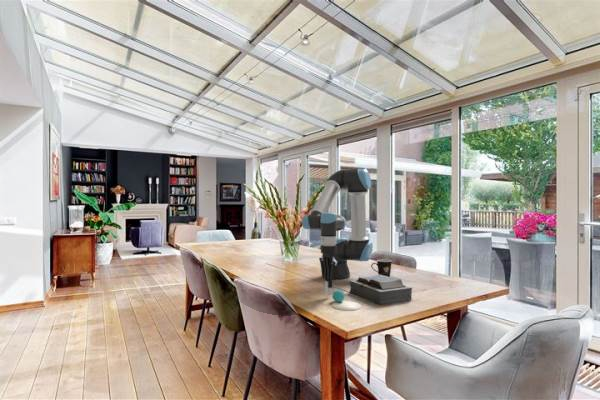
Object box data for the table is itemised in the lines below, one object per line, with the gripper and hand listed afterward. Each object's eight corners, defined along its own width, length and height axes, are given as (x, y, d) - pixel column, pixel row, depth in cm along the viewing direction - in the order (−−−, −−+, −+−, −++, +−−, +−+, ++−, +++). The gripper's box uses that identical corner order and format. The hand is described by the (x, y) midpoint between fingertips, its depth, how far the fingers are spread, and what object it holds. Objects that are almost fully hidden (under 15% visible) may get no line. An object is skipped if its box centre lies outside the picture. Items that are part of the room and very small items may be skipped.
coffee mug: (392, 276, 213) (392, 259, 213) (391, 279, 205) (391, 262, 205) (372, 274, 217) (372, 258, 217) (371, 277, 209) (371, 261, 209)
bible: (370, 307, 154) (370, 285, 154) (346, 291, 180) (346, 272, 180) (416, 303, 161) (416, 281, 160) (386, 288, 187) (386, 269, 186)
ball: (339, 292, 157) (336, 304, 157) (348, 292, 160) (345, 303, 160) (331, 288, 161) (329, 299, 161) (340, 287, 164) (337, 299, 165)
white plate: (326, 304, 157) (326, 303, 157) (349, 300, 164) (349, 299, 164) (343, 312, 146) (343, 312, 146) (367, 307, 152) (367, 307, 152)
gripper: (314, 243, 170) (314, 292, 171) (329, 247, 159) (330, 298, 159) (327, 242, 174) (327, 289, 174) (343, 245, 163) (343, 296, 163)
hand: (328, 294), depth 167 cm, fingers closed
